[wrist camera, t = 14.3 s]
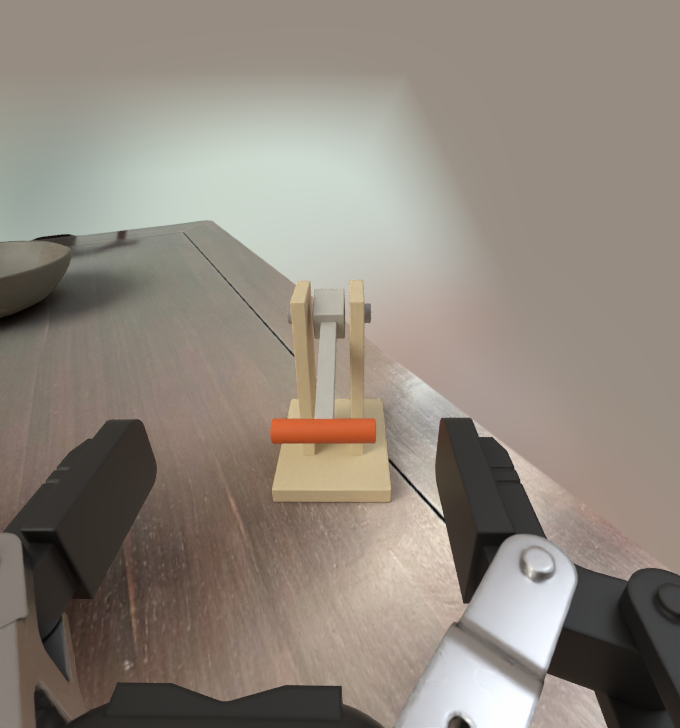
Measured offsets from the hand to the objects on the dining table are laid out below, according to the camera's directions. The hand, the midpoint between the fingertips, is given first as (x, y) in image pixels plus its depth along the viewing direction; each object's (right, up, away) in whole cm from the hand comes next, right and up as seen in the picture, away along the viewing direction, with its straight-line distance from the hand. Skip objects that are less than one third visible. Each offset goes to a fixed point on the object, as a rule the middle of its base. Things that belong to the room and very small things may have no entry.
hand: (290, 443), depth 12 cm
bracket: (+1, -5, +26) cm, 27 cm away
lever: (+1, +2, +18) cm, 18 cm away
